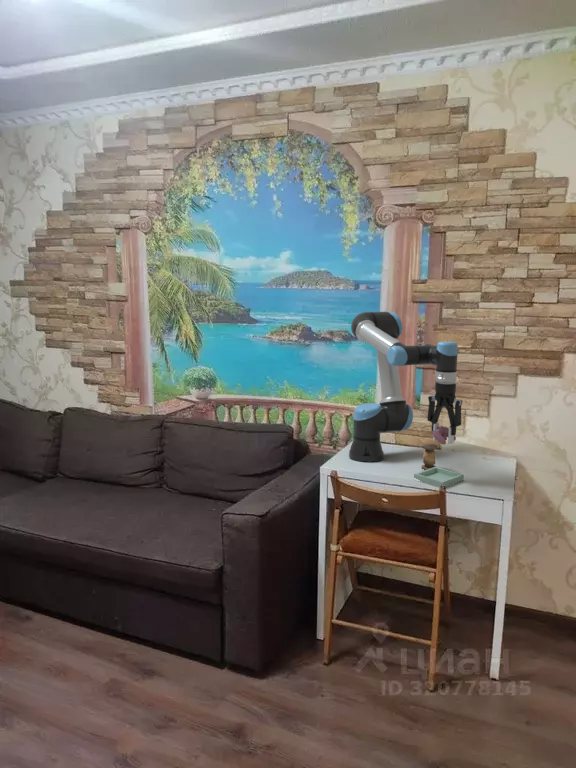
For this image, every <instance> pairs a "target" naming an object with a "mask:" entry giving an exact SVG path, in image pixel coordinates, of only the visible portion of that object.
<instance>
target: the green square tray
mask: <svg viewBox="0 0 576 768" xmlns="http://www.w3.org/2000/svg"><path fill="white" fill-rule="evenodd" d="M464 476H465V474H463V473H459V472H455V471H453V470H449V469H445V468H441V467H437V466H436V467H433V468H430V469H427V470H422V471H419V472H416V473H414V474H413V479H414V478H416V479H418V480H420V481H422V482H421V483H423V484H427V485H429V486H433V487H436V488H440V486H441V485H445V486H446V487H445V488H447V487H450V486H453V485H454V484H453V483H456V482H458V483H460V482H459V481H461V482H463V481H462V480H464V479H465V477H464ZM452 484H453V485H452ZM456 484H457V483H456ZM440 489H441V488H440Z"/></svg>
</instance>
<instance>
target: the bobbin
mask: <svg viewBox="0 0 576 768" xmlns="http://www.w3.org/2000/svg"><path fill="white" fill-rule="evenodd" d="M421 447H422V449H424V450H423V457H422V458H423V459H422V460H423V461H422V463H423V464H422V465H421V468H422V469H424V470H427V469H430V468H433V467H437V466H436V465H435V464H436V455H437V454H436V453H437V452H436V450H437V449H438V444H435V443H423V444H422V445H421ZM422 469H421V470H422ZM424 470H423V471H424Z"/></svg>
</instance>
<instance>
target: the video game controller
mask: <svg viewBox="0 0 576 768" xmlns="http://www.w3.org/2000/svg"><path fill="white" fill-rule="evenodd" d="M448 435H449V427H448V426H442V425H441V426H439V427H437V428H436V429H435V430H434V431H432V437H433V436H434V438H435V439H436V440H435V441H437V442H438V443H440V444H441V445H443V446H445V445H446V443H447V442H446V441H448ZM456 437H457V436H456V435H454V442H455V441H456V439H457V438H456Z"/></svg>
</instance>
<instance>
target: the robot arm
mask: <svg viewBox="0 0 576 768" xmlns="http://www.w3.org/2000/svg"><path fill="white" fill-rule="evenodd" d="M402 323H403V322H402V320H401V317H400V316H399V315H398V314H397V313H396V312H393V311H387V310H386V311H364V312H361V313H358V314H357V315H356V316H355V317H354V318H353V320H352V322H351V326H350V329H351V333H352V335H353V336H354V337H355V338H356V339H357V340H359V341H360V342H366V343H367V344H369V345H370V346H372V347H373V348H374V349H376V355H377V357H376V358H377V364H378V372H379V379H380V382H379V383H380V389H381V397H382V399H381V401H380V402H379V403H378V402H377V403H376V402H372V403H364V404H363V403H362V404H359V405H357V406H356V407H355V408H354V411H353V439H352V443H351V445H350V449H349V451H348V457H349V458H350V459H351V460H353V459H354V461H356V460H359V461H358V462H362V461H369V462H368V463H373V462H372V461H375V462H381V461H382V460H383V459H384V456H385V453H384V450H383V445H382V443H381V434H384V433H385V434H386V433H395V432H403V431H406V430H408V429H410V427H411V425H412V424H413V420H414V412H413V409H412V407H411V405H410V404H407V401H406V399H405V398H404V397H403V396H402V394H403V393H402V387H401V379H400V371H399V370H400V369H399V367H402V366H417V365H418V366H420V365H433V366H434V365H435V367H436V370H435V382H436V383H435V394H434V395H429V396H427V397H428V398H427V400H428V411H427V422H430V423H431V432H433V431H434V430H435V429H436V428H437V427H440V423H439V418H440V415H441V412H442V410H443V408H445V410H446V412H447V415H448V419H449V424H450V426H449V427H448V429H449V435H448V437H447V444H448V445H452V444H454V442H455V441H454V435H455V436H456V434H457V427H460V426H462V405H463V400H462V399H458V398H457V397H456V393H457V392H456V391H457V389H456V388H457V384H456V383H457V375H458V374H457V369H458V354H459V351H458V349H459V348H458V343H457V342H455V341H438V342H437V345H435V344H431V343H428V344H427V343H422V344H421V345H406V344H404V343H402V342H400V341H399V337H400V336H401V334H402V331H403V324H402ZM454 405H455V406H454ZM432 441H433V442H435V441H437V440H436V439H435V438H434V436H433V435H432ZM370 461H371V462H370Z"/></svg>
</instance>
